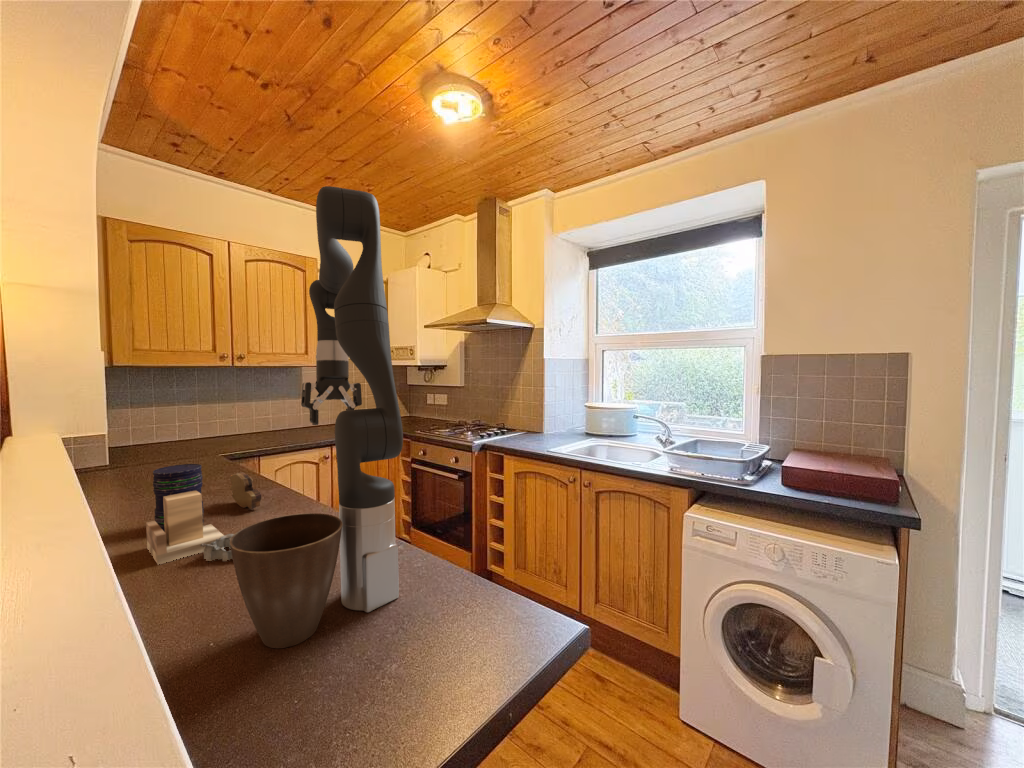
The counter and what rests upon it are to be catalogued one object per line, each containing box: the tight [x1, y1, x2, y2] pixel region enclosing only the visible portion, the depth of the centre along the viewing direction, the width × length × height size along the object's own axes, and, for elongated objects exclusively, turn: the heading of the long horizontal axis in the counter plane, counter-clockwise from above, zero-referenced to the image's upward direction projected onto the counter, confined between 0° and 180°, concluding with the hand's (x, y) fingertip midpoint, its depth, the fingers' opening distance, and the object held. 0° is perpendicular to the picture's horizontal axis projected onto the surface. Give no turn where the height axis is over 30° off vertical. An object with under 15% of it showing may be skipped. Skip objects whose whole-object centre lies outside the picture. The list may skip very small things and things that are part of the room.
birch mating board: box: [145, 519, 225, 566], centre depth 94 cm, size 12×12×6 cm
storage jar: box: [152, 463, 205, 532], centre depth 106 cm, size 10×10×15 cm
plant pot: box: [230, 512, 342, 649], centre depth 63 cm, size 15×15×16 cm
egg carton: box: [200, 533, 235, 562], centre depth 90 cm, size 11×8×4 cm
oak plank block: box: [163, 491, 204, 546], centre depth 93 cm, size 4×6×10 cm
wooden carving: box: [228, 472, 262, 510], centre depth 121 cm, size 16×5×10 cm, turn 58°
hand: (332, 423), depth 104 cm, fingers open, 8 cm apart
